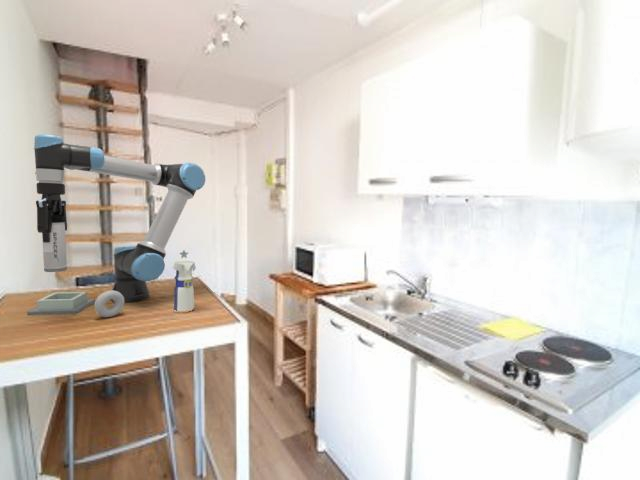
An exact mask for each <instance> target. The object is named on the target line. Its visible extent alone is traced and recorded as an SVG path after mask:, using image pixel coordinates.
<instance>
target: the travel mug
mask: <svg viewBox="0 0 640 480" xmlns="http://www.w3.org/2000/svg"><path fill="white" fill-rule="evenodd" d="M51 233H53V245H54V252H43V251H42V256H43V259H42V260H43V271H44V272H45V273H57V272H58V273H59V272H63V271H64V272H65V271H67V270H68V266H67V263H68V261H67V259H68V258H67V244H66V243H67V242H66V241H67V240H66V231H65V221H64V215H62V214H60V215H52V228H51ZM41 239H42V242H43V237H42V236H41Z"/></svg>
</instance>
